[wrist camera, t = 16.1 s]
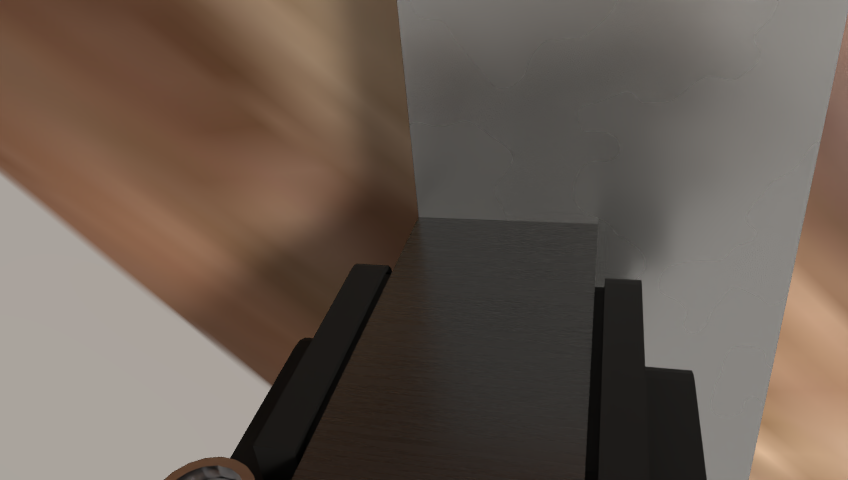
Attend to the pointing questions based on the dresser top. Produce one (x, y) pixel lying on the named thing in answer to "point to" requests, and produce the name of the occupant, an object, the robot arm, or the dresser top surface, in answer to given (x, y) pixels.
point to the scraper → (584, 226)
